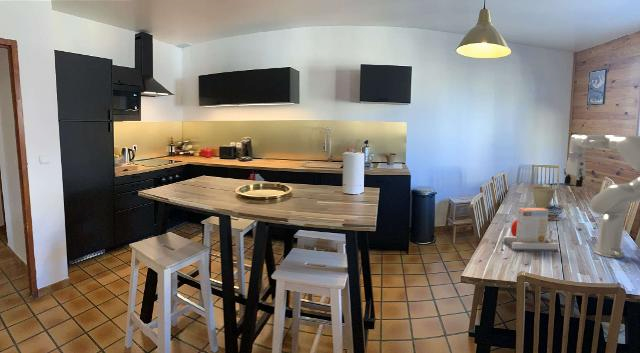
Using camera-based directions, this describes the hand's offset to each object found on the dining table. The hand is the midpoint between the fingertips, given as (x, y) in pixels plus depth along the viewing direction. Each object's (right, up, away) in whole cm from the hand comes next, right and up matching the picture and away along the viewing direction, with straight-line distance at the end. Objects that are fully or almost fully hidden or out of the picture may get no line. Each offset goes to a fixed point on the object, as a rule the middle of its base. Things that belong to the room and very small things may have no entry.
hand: (572, 185), depth 208 cm
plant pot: (+31, -20, +79) cm, 87 cm away
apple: (-30, -33, +2) cm, 44 cm away
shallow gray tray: (-31, -34, -10) cm, 47 cm away
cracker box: (-31, -33, -10) cm, 47 cm away
